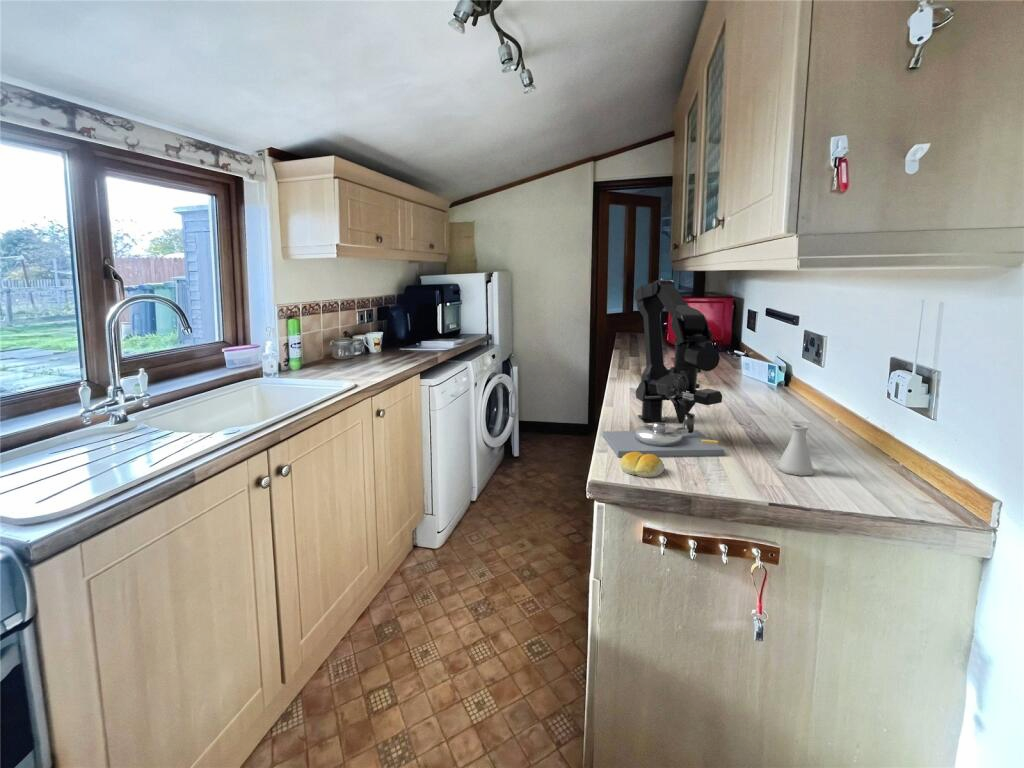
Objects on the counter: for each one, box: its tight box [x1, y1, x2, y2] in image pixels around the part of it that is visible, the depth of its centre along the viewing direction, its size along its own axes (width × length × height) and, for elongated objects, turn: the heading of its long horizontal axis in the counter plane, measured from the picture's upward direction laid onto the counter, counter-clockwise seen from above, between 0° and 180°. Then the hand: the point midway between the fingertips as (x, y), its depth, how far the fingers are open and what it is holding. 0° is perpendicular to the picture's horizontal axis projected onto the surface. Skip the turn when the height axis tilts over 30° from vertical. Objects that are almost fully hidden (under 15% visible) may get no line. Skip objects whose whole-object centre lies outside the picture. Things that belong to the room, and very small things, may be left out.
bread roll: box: [620, 452, 665, 478], centre depth 110 cm, size 8×9×4 cm
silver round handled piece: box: [635, 412, 696, 446], centre depth 126 cm, size 16×11×6 cm
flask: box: [776, 423, 814, 477], centre depth 109 cm, size 7×7×10 cm
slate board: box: [602, 429, 725, 458], centre depth 126 cm, size 16×26×2 cm, turn 93°
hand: (680, 423), depth 132 cm, fingers closed
